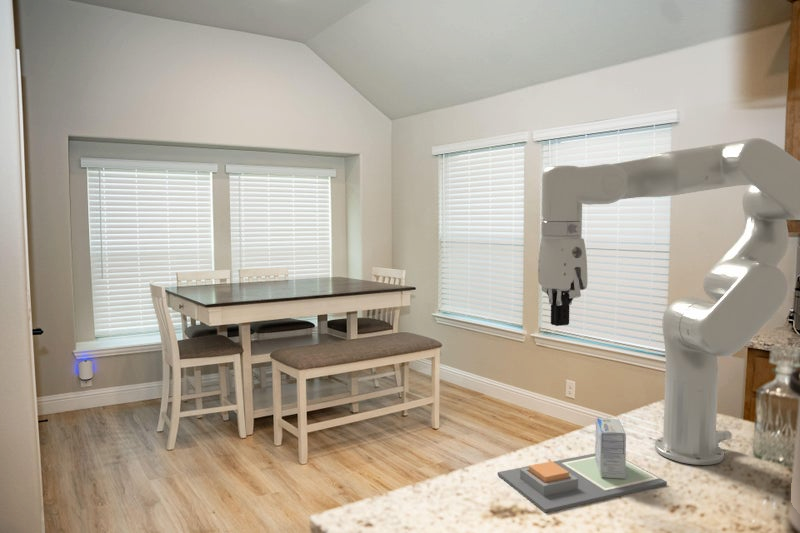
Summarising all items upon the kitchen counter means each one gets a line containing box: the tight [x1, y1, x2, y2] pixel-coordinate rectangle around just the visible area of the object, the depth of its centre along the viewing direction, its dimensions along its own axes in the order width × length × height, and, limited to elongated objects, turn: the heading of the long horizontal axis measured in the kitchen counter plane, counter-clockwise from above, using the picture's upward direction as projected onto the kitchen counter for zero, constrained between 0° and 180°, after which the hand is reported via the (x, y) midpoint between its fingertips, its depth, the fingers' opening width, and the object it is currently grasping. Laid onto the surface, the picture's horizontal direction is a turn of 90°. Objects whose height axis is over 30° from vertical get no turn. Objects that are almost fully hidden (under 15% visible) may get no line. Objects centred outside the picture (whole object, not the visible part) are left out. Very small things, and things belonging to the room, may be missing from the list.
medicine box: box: [594, 417, 627, 479], centre depth 110 cm, size 8×4×9 cm, turn 168°
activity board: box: [497, 452, 668, 514], centre depth 108 cm, size 26×15×2 cm, turn 111°
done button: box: [528, 460, 569, 483], centre depth 105 cm, size 5×5×2 cm
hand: (559, 324), depth 115 cm, fingers closed
